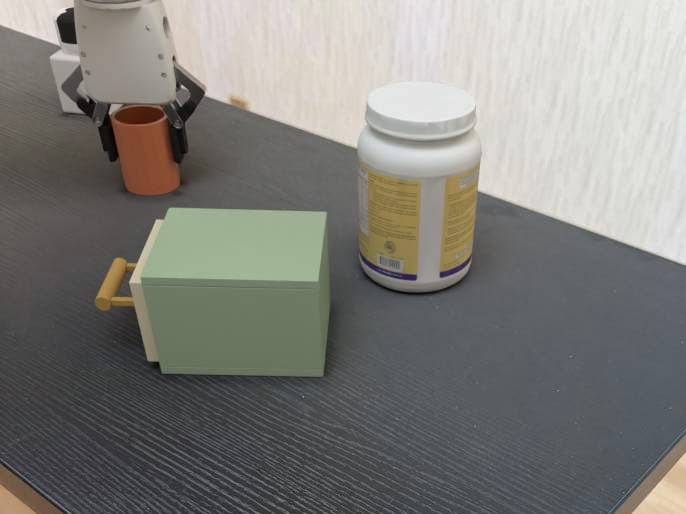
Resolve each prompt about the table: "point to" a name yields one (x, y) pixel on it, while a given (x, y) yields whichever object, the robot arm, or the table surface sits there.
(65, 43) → the medicine bottle
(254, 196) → the table surface
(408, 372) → the table surface
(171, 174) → the cup
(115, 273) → the drawer
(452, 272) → the supplement tub
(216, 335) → the cabinet
